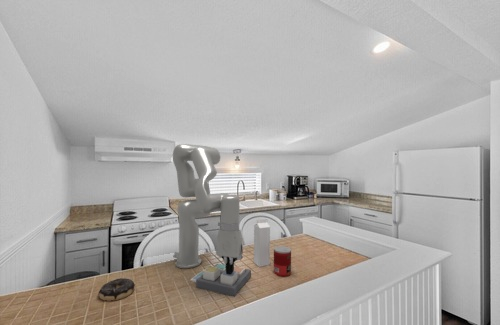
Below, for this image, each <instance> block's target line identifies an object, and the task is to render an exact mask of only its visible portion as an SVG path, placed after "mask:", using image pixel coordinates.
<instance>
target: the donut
mask: <svg viewBox="0 0 500 325" xmlns="http://www.w3.org/2000/svg"><path fill="white" fill-rule="evenodd" d="M135 285H136V284H135V283H134V281H133V280H132V279H131V278H124V277H123V278H122V277H120V278H116V279H113V280H110V281H108V282H106V283H105V284H103V285H102V286H101V288H100V289H99V291H98V297H99V298H100V300H103V301H105V300H107V301H106V302H112V301H111V300H113V301H117V300H118V301H119V300H122V299H124V298H126V297H128V296H130V295H131V294H133V293H134V290H135Z"/></svg>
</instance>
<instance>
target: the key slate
mask: <svg viewBox="0 0 500 325" xmlns="http://www.w3.org/2000/svg"><path fill="white" fill-rule="evenodd" d="M237 275H238V272H236V271H233V272H232V273H231V274H230V275H229V274H226V271H225V272H224V273H222V274H221V283H222V284H226V285H231V286H232V285H233V284H234V283H235V282H236V281H237Z"/></svg>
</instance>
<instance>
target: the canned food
mask: <svg viewBox="0 0 500 325" xmlns="http://www.w3.org/2000/svg"><path fill="white" fill-rule="evenodd" d="M273 273H274V274H275V276H278V277H289V276H290V275H291V273H292V249H291V248H290V247H288V246H281V245H280V246H278V245H277V246H275V247H273Z"/></svg>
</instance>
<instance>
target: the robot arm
mask: <svg viewBox="0 0 500 325" xmlns="http://www.w3.org/2000/svg"><path fill="white" fill-rule="evenodd" d="M172 161H173V164H174V168H175V170H176V175H177V187H178V192H179V196H180V197H181V198H195V199H185V200H183V201H180V202H179V203H178V205H177V216H178V223H179V224H178V225H179V227H178V228H179V229H178V230H179V231H178V234H179V235H178V251H175V252H174V254H173V255H172V257H173V258H174V259H175V258H176V261H175V263H174V264H175V267H177V268H179V269H192V268H195V267H197V266H198V267H199V265H201V264H202V259H201V258H200V257H199V243H200V242H199V235H200V234H199V233H200V229H199V224H198V223H197V222H196V219H200V218H205V217H208V216H210V215H211V214H212V213H218V212H220V221H219V222H218V223H217V226H218V227H219V229H218V231H217V236H216V246H215V253H216V255H217V257H219V258H221V259H222V260H223V263H224V265H226V274H229V275H230V274H231V273H232V272H233V271H234V267H235V262H236V261H241V260H242V259H243V258H244V256H243V253H244V243H243V235H242V234H243V233H242V230H241V229H240V197H239V196H238V195H234V194H229V193H224V192H223V193H221V192H220V193H211V190H210V184H209V182H210V181H212V180H213V179H214V178H216V176H217V175H218V174H217V172H218V171H217V169H216V167H215V165H217V164H219V163H220V161H221V154H220V152H219V150H218V149H217V148H215V147H211V146H206V145H205V146H204V145H201V144H200V145H198V144H197V145H196V144H189V143H188V144H187V143H185V144H184V143H181V144H177V145H176V146H175V147H174V148H173V151H172ZM189 162H192V163H193V166H194V168H195V170H194V168H193V167H192V165H191V164H190V163H189ZM195 171H196V174H197V176H198V178H196V177H195Z"/></svg>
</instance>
